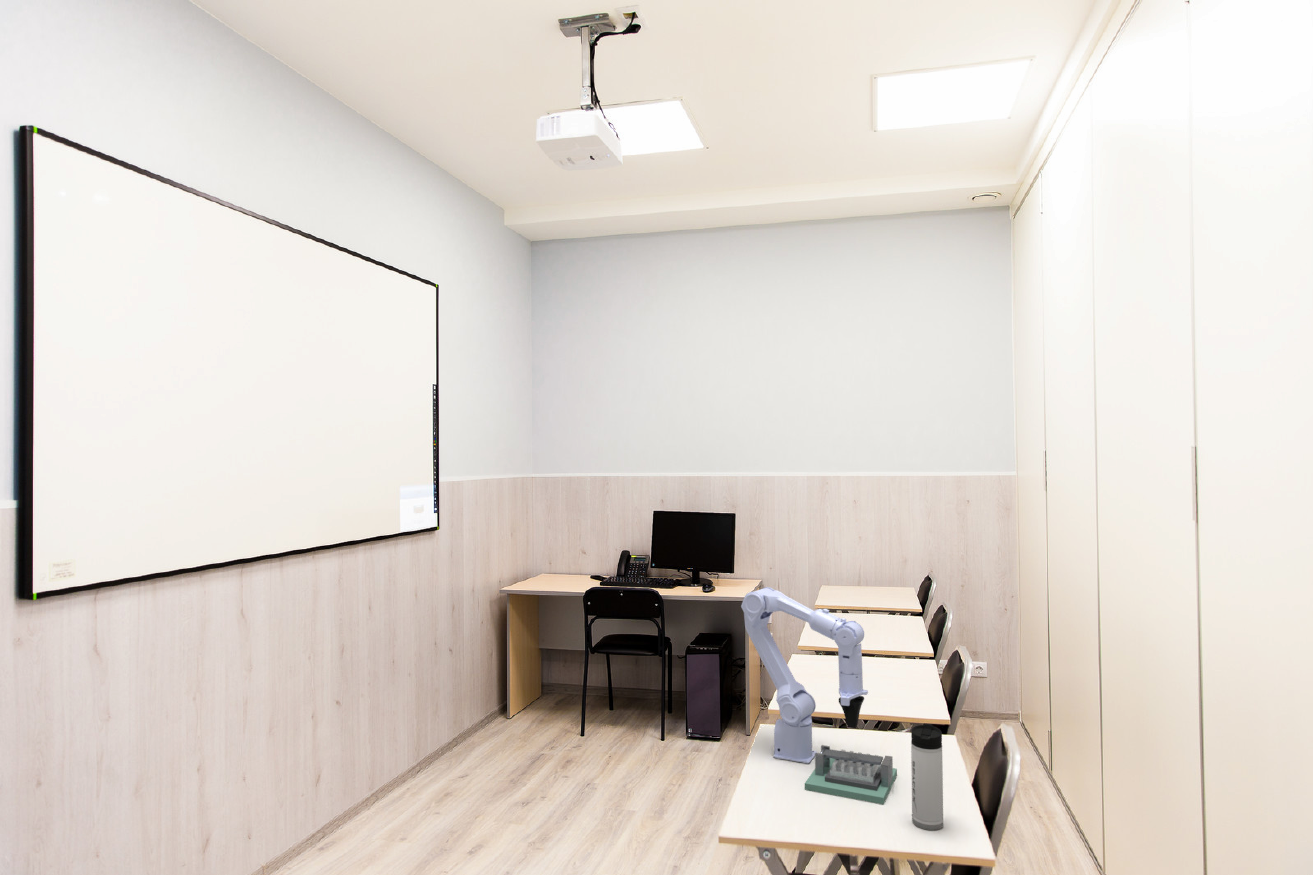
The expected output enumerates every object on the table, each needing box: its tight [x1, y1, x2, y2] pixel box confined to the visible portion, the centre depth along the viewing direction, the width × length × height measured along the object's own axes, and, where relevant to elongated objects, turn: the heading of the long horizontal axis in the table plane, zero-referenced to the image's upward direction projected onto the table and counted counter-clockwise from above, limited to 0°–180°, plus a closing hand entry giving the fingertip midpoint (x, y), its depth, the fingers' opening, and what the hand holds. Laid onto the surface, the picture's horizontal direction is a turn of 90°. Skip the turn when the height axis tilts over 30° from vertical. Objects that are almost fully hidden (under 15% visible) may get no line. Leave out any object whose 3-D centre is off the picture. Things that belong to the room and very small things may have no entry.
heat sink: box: [814, 744, 894, 787], centre depth 186 cm, size 17×10×5 cm, turn 64°
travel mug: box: [910, 722, 944, 831], centre depth 165 cm, size 6×7×20 cm
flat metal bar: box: [819, 748, 884, 765], centre depth 186 cm, size 14×4×1 cm, turn 64°
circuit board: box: [804, 758, 898, 805], centre depth 186 cm, size 18×18×2 cm
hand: (852, 726), depth 194 cm, fingers closed
